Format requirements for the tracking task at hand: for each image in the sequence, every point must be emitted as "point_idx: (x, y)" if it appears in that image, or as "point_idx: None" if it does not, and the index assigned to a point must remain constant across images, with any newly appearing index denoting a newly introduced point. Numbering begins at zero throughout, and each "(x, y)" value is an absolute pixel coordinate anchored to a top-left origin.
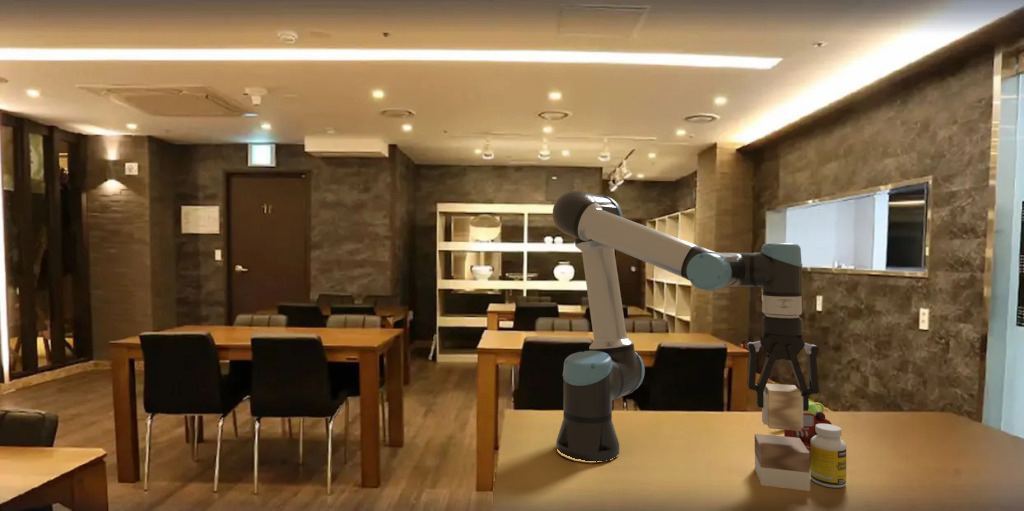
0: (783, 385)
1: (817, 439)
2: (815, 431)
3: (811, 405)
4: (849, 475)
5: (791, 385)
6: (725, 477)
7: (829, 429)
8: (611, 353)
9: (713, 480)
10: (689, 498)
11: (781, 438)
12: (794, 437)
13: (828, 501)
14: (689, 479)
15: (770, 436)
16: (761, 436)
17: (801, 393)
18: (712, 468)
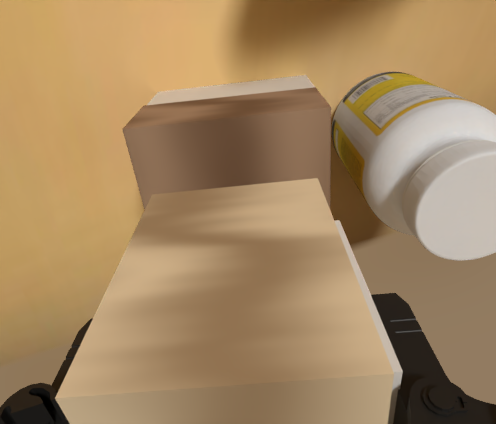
0: (263, 414)
1: (391, 212)
2: (403, 196)
3: None
4: (481, 22)
5: (352, 395)
6: (88, 204)
7: (465, 249)
8: None
9: (64, 234)
10: (47, 334)
11: (244, 150)
12: (307, 109)
13: None
14: (7, 251)
15: (196, 142)
16: (157, 156)
17: (399, 418)
18: (33, 152)
